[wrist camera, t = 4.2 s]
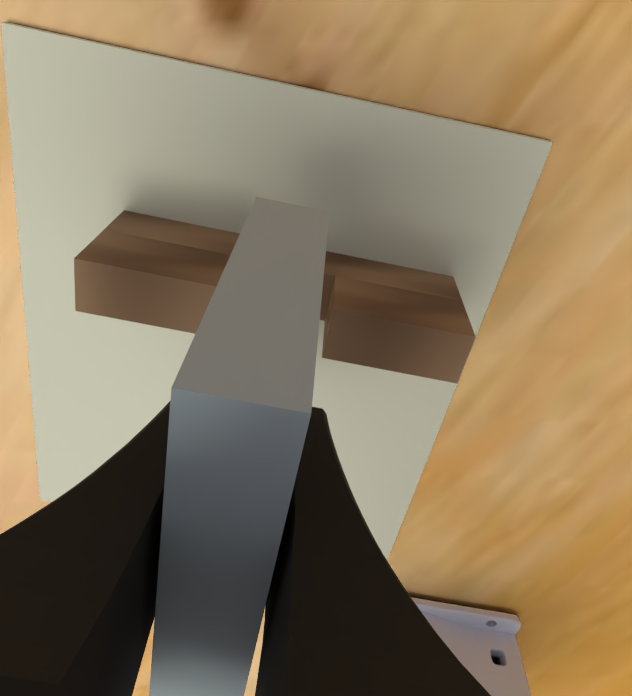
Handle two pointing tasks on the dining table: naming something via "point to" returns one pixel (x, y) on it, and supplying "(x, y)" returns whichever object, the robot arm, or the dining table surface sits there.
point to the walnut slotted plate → (336, 305)
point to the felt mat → (230, 215)
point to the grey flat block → (236, 451)
